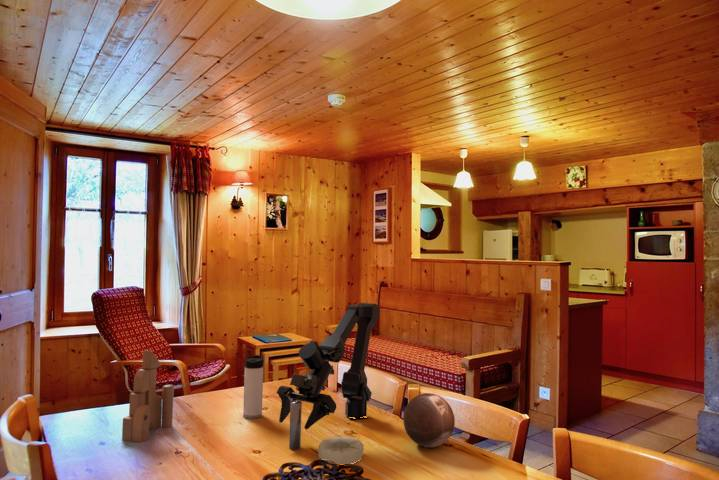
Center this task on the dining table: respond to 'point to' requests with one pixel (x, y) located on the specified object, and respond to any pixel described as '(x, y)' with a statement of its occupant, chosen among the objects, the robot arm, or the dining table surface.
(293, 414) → the metal peg
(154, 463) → the dining table surface
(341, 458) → the grey ring
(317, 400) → the robot arm
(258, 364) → the travel mug
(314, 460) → the dining table surface
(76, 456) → the dining table surface
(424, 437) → the wooden sphere
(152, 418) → the wooden toy
